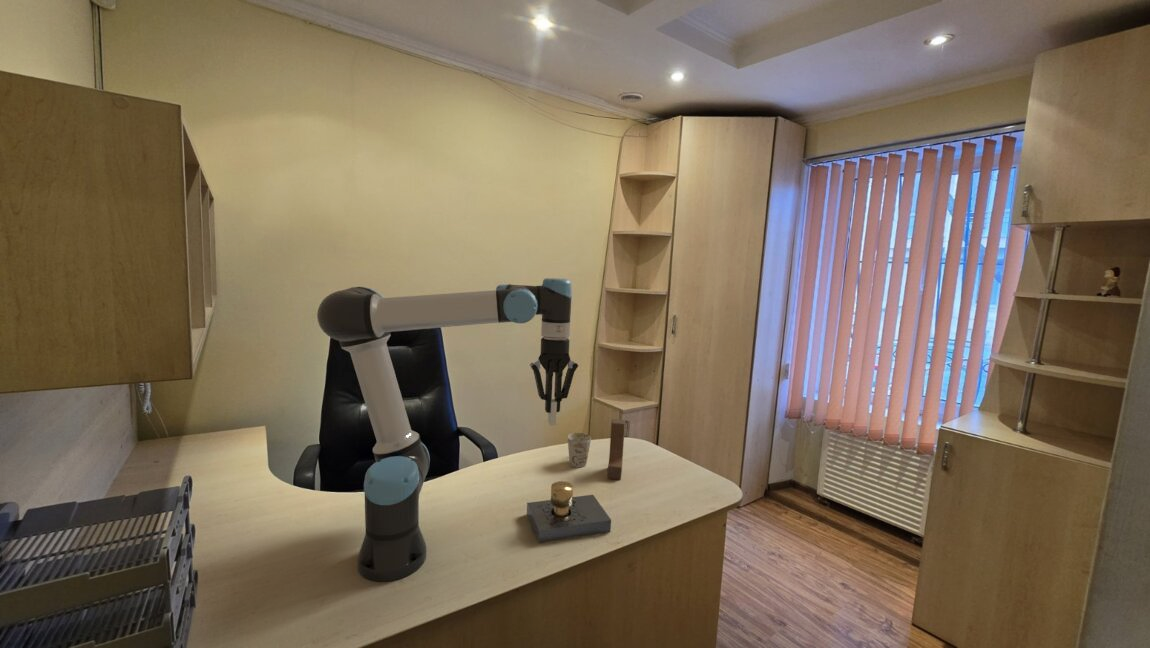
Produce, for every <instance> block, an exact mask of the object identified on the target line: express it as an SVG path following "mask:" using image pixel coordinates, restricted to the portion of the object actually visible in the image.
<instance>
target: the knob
mask: <svg viewBox="0 0 1150 648" xmlns="http://www.w3.org/2000/svg"><path fill="white" fill-rule="evenodd" d="M550 486H551V487H550V500H551V504H552V505H553V506H554V516H555V517H559V518H564V517H568V510H569V506H571V505H572V502H573V497H574V485H573V484H572V483H570V482H568V481H563V480H562V481H555V482H553V483H552V484H551V485H550Z"/></svg>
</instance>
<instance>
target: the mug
mask: <svg viewBox="0 0 1150 648" xmlns="http://www.w3.org/2000/svg"><path fill="white" fill-rule="evenodd" d="M591 441H592V437H591V435H589V434H587V433H583V432H574V433H569V434H568V435H567V448H568V461H569V465H570V466H572V467H574V468H584V467H586V466H587V463H588V458H589V452H590V448H591Z"/></svg>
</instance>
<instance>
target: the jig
mask: <svg viewBox="0 0 1150 648" xmlns="http://www.w3.org/2000/svg"><path fill="white" fill-rule="evenodd" d="M526 516H527V519H528V520H529V523H530V526H531V528H532V532H534V535H535V538H536V541H537V543H538V544H542V543H547V542H548V543H549V542H553V541H554V542H555V541H561V540H567V539H573V538H574V539H575V538H581V537H586V536H593V535H599V534H606V533H611V532H612V531H611V528H612V527H611V526H612V519H611V517H610V516H609V515H608V513H607V512H606V511H605V509H604V508H603V506H602V505H601V504H600V502H599V501H598V500H597V498H596V497H595V495H594V494H586V495H585V494H584V495H578V496H577V495H576V496H573V502H572V505H571V506H569V510H568V517H564V518H559V517H555V516H554V506H553V505H552V504H551V499H548V500H540V501H538V500H537V501H532V502H530V501H529V502H527V503H526Z"/></svg>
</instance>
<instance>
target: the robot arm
mask: <svg viewBox="0 0 1150 648" xmlns="http://www.w3.org/2000/svg"><path fill="white" fill-rule="evenodd" d="M572 297H573V296H572V282H571V281H570V280H569V279H567V278H555V277H553V278H551V277H548V278H546V277H545V278H543V281H542V284H541V285H526V284H525V285H523V284H509V283H508V284H499V285H497V286H496V288H495V290H480V291H469V292H454V293H452V292H451V293H439V294H438V293H436V294H435V293H434V294H422V295H409V296H407V295H406V296H393V297H383V295H382V294H380V293H379V292H378V291H377V290H374V289H372V288H368V287H364V286H354V287H353V286H352V287H348V288H346V289H342V290H337V291H334V292H332V293H330V294H328V295H326V297H324V298H323V300H322V301H321V303H319V306H318V309H317V314H316V316H317V322H318V325H319V327H320V329H321V330H322V332H323V333H325V335H326V336H327V337H329V338H331V339H333V340H336V341H339V345H340V348H341V349H342V350H344V351H346V352H348V353H349V354H350V357H351V361H352V364H353V368H354V370H355V373H356V377H357V380H358V383H359V384H358V385H359V388H360V390H361V394H362V397H363V400H364V403H365V407H366V410H367V412H368V413H367V414H368V417H369V421H370V424H371V426H372V431H373V433H374V436H375V439H376V443H375V444H374V446H373V447H372V453H373V457H374V459H375V462H374V463H373V464H372V465H370V466H369V468H368V469H367V471H366V472H365V476H364V482H363V492H364V522H365V524H364V525H365V534H364V537H363V541H362V543H361V546H360V549H359V552H358V555H357V572H358V573H359V574H360V576H361V577H362V578H365V579H367V580H370V581H372V582H391V581H396V580H399V579H403V578H405V577H407V576H410V575H412V574H413V573H415V572H416V571H418V570H419V569H420V568H422V566H423V565H424V563H425V561H426V559H427V543H426V542H425V539H424V538H425V537H424V535H423V533H422V531H421V528H420V525H419V522H420V521H419V515H420V514H419V510H420V509H419V508H420V506H419V500H420V494H421V492H422V491H421V490H422V488H423V484H424V482H425V480H426V476H427V475H428V472H429V469H430V461H431V458H430V453H429V450H428V448H427V446H426V445H425V444H424V443H423V442H422V440H421V437H420V434H419V433H418V432H416V431H414V430H412V427H411V424H410V422H409V421H410V420H409V417H408V414H407V411H406V407H405V402H404V400H403V396H402V392H401V390H400V385H399V383H398V379H397V377H396V376H397V375H396V372H395V369H394V365H393V362H392V359H391V355H390V352H389V348H388V343H387V342H388V341H389V339H390V337H391V336H392V335H391V333H392V332H403V331H413V330H415V331H416V330H425V329H438V328H449V327H462V326H473V325H484V324H485V325H486V324H487V325H488V324H498V323H499V324H500V323H515V324H526V323H528V322H530V321H532V320H533V318H534V317H535V316H540V315H541V328H540V329H541V331H540V332H541V333H540V335H541V337H542V338H540V354H539V356H538V360H536V361H535V362H531V363H530V364H529V367H530V369H531V370H532V371H533V375H534V379H535V386H536V388H537V395H538V397H539V398H540V399H541V400H542V401H543V400H544V401H545V402H544V404H545V405H544V411H545V412H546V413H547V414H548V415H547V419H548V420H547V423H548V424H549V426H557V413H559V412H560V411H561V402H562V401H563V399H568V397H569V392H570V388H571V385H572V383H573V382H572V381H573V379H574V378H573V377H574V375H575V372H576V370H577V369H578V367H579V364H578V363H577V362H575V361H573V360H571V356H570V339H569V337H570V335H571V334H570V331H571V315H572V314H571V313H572V312H571V311H572ZM541 367H542V368H543V369H544V370H545V389H544V384H543V381H542V375H541V372H540V370H541ZM566 367H567V370H566V373H565V376H564V374H563V372H564V370H565V369H566ZM563 376H564V377H565V378H564V381H563ZM553 377H554V379H553ZM553 380H554V390H553ZM562 382H563V383H562ZM553 391H554V393H553ZM553 394H554V398H552V397H553Z"/></svg>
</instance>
